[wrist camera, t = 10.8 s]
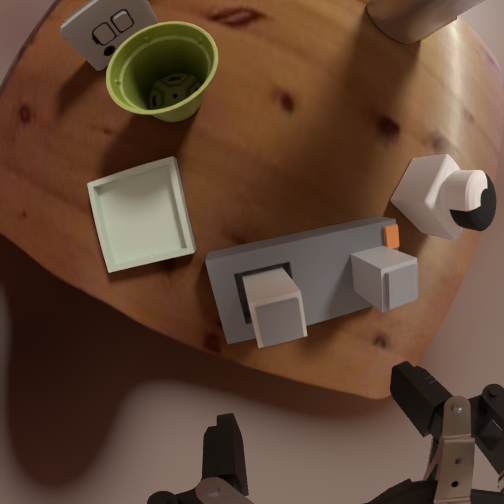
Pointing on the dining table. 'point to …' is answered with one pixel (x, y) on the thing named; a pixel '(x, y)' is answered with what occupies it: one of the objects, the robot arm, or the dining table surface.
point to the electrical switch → (105, 27)
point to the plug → (274, 305)
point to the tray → (141, 215)
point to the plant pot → (163, 70)
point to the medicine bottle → (445, 197)
